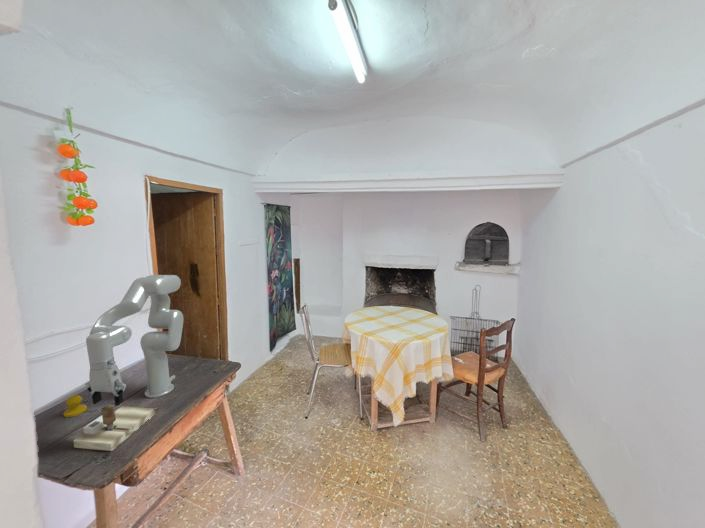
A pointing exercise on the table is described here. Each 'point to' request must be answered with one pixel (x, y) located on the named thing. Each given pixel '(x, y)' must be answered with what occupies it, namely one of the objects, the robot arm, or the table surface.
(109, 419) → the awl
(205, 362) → the table surface
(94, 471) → the table surface
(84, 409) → the doorknob
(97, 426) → the block
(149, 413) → the cream slotted tray
